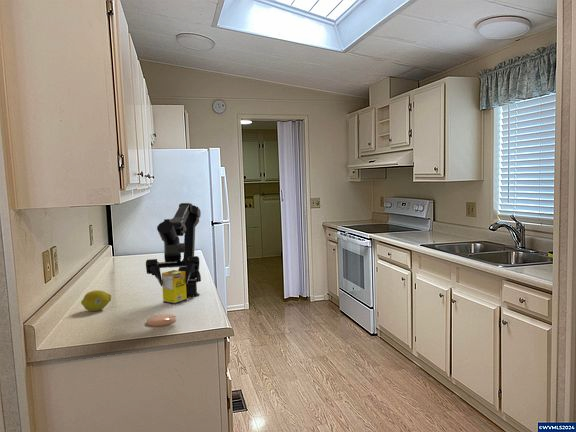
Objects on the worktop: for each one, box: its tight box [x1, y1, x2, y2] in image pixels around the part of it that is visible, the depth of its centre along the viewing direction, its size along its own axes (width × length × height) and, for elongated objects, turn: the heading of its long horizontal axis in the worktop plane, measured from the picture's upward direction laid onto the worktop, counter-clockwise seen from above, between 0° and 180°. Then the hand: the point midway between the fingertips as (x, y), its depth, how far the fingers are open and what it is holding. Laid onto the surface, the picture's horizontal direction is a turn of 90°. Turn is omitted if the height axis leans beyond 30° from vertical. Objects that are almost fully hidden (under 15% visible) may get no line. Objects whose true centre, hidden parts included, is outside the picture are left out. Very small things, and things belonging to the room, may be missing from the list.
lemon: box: [80, 289, 112, 312], centre depth 166 cm, size 11×8×8 cm
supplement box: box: [161, 269, 188, 306], centre depth 151 cm, size 6×6×11 cm
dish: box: [146, 313, 177, 327], centre depth 150 cm, size 10×10×1 cm
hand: (174, 284), depth 149 cm, fingers closed on supplement box, 8 cm apart
